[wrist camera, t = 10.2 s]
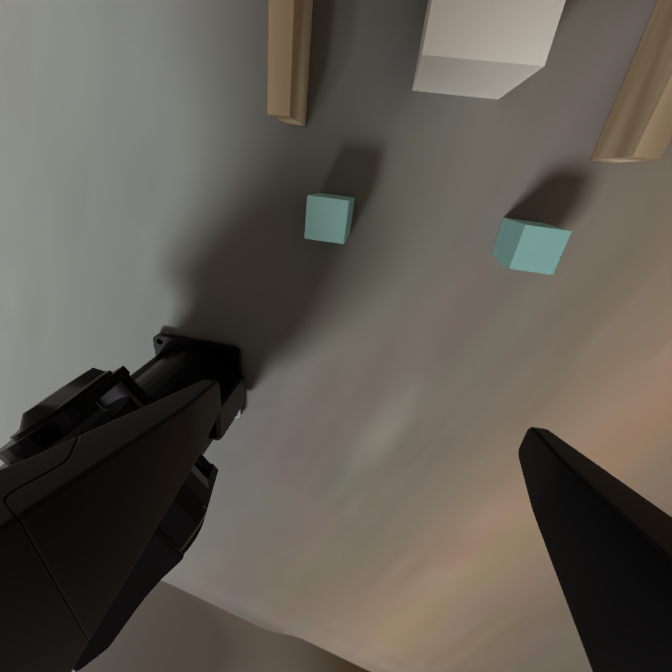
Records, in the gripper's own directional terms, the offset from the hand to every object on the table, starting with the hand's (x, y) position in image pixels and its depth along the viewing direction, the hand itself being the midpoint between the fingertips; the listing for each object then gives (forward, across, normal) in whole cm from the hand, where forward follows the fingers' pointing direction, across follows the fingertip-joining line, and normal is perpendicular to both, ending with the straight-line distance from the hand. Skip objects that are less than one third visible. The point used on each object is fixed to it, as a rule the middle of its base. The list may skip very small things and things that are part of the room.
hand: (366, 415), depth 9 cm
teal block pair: (+12, -2, -4) cm, 12 cm away
